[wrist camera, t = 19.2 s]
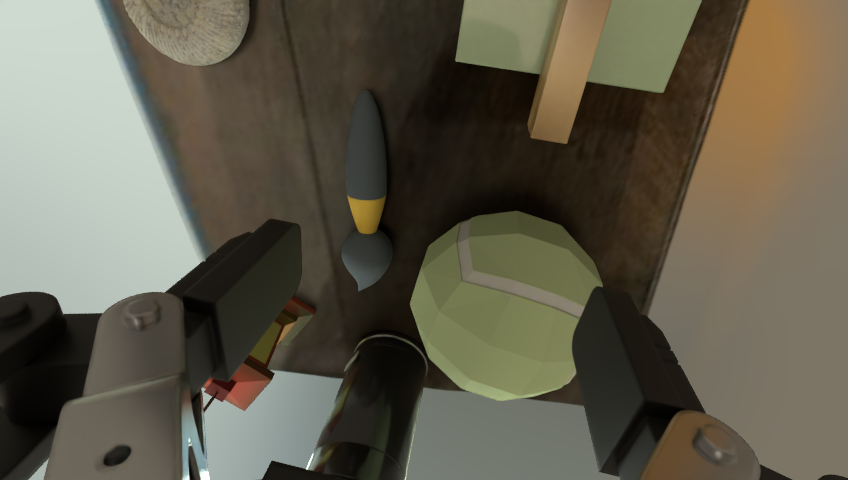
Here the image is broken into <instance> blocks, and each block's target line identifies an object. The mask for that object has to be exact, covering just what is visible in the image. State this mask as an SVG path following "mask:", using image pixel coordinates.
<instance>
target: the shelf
mask: <svg viewBox="0 0 848 480" xmlns="http://www.w3.org/2000/svg"><path fill="white" fill-rule="evenodd" d="M701 1H702V0H612V2H611V5H610V8H609V11H608V15H607V18H606V21H605V24H604V27H603V30H602V34H601V37H600V40H599V43H598V46H597V49H596V53H595V56H594V59H593V62H592V65H591V69H590V72H589V75H588V78H587V81H586V82H593V83H599V84H606V85H612V86H619V87H625V88H632V89H638V90H645V91H651V92H658V93H663V92H664V90H665V87H666V85H667V82H668V80H669V78H670V75H671V73H672V70H673V68H674V66H675V63H676V61H677V59H678V56H679V54H680V51H681V49H682V47H683V44H684V42H685V39H686V37H687V35H688V32H689V30H690V27H691V25H692V23H693V20H694V18H695V16H696V13H697V11H698V8H699V6H700V4H701ZM558 2H559V0H464V5H463V12H462V19H461V25H460V32H459V39H458V45H457V52H456V59H455V60H456V61H457V62H463V63H469V64H476V65H482V66H489V67H495V68H502V69H508V70H515V71H521V72H528V73H534V74H540V72H541V69H542V65H543V61H544V57H545V53H546V49H547V45H548V41H549V37H550V33H551V29H552V25H553V21H554V17H555V14H556V10H557V6H558Z"/></svg>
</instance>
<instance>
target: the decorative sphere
mask: <svg viewBox="0 0 848 480" xmlns="http://www.w3.org/2000/svg"><path fill="white" fill-rule="evenodd" d="M596 286H600V287H603V284H602V282H601V279H600V277H599V274H598V271H597V269H596V266H595V263H594V261H593V260H592V259H591V258H590V257H589V256H588V255H587V254H586V252H585V251H584V250H583V249H582V248H581V247H580V246H579V245H578V243H577V242H576V241H575V240H574V239H573V238H572V237H571V236H570V234H569V233H568V232H567V231H566V230H565V229H564V228H563V227H562V225H559V224H556V223H553V222H550V221H547V220H544V219H541V218H538V217H535V216H532V215H529V214H526V213H523V212H520V211H511V212H503V213H495V214H487V215H478V216H475V217H472V218H471V219H468V220H465V221H463V222H460V223H458V224H457V225H456V226H454V227H453V228H452V229H450V230H449V231H448V232H446V233H445V234H444V235H442V236H441V237H440V238H438V239H437V240H436V241H434V242H433V243H432V244H430V245H429V246H428V249H427V252H426V255H425V258H424V261H423V264H422V267H421V270H420V272H419V275H418V278H417V282H416V285H415V288H414V292H413V295H412V298H411V302H410V306H411V309H412V312H413V315H414V318H415V321H416V324H417V327H418V330H419V333H420V336H421V339H422V341H423V344H424V347H425V349H426V352H427V355H428V357H429V359H430V360H431V361H432V362H433V363H434V364H435V365H437V366H438V367H439V368H440V369H441V370H442V371H443V372H444V373H445V374H446V375H447V376H448V377H449V378H450V379H452V380H453V381H454V382H455V383H456V384H457V385H458V386H459V387H460V388H461V389H464V390H467V391H470V392H473V393H476V394H479V395H482V396H485V397H488V398H491V399H494V400H498V401H503V400H511V399H518V398H525V397H533V396H537V395H540V394H543V393H547V392H550V391H553V390H556V389H559V388H562V386H563V385H565V384H568V383H569V382H570V381H571V380H572V378H573V377H574V376H575V374H576V368H575V364H574V360H573V355H572V338H573V334H574V331H575V328H576V326H577V324H578V321H579V319H580V317H581V315H582V312H583V310H584V308H585V305H586V303H587V301H588V299H589V296H590V294H591V292H592V290H593V289H594V288H595V287H596Z"/></svg>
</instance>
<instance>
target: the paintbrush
mask: <svg viewBox="0 0 848 480" xmlns="http://www.w3.org/2000/svg"><path fill="white" fill-rule="evenodd" d="M346 189H347V197H348V200H349V204H350V208H351V211H352V214H353V218H354V220H355V223H356V226H357V229H356V230H355V231H353V232H352V233H351V234H350V235H349V236H348V237H347V238H346V240H345V242H344V244H343V247H342V259H343V262H344V264H345V266H346V268H347V269H348V271H349V272H350V273H351V275H352V276H353V277H354V278H355V280H356V281H357V283H358V291H360V290H362V289H364V288H367V287H369V286H371V285H372V284H374V283H375V282H377V281H378V280H379V279H380V278H381V277H382V276H383V275H384V273H385V272H386V271H387V269H388V267H389V266H390V263H391V261H392V257H393V248H392V244H391V241H390V239H389V238H388V237H387V235H386V234H385V233H384V232H382V231H381V230H379V229H377V228H378V225H379V222H380V218H381V215H382V211H383V207H384V203H385V199H386V193H387V165H386V152H385V143H384V136H383V129H382V124H381V119H380V115H379V111H378V108H377V105H376V102H375V100H374V98H373V96H372V94H371V93H370V92H369V91H368V90H363V91H362V92H361V93H360V94H359V96H358V97H357V100H356V102H355V105H354V108H353V112H352V116H351V121H350V127H349V135H348V144H347V156H346Z"/></svg>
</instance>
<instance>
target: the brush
mask: <svg viewBox="0 0 848 480" xmlns="http://www.w3.org/2000/svg"><path fill="white" fill-rule="evenodd" d="M611 2H612V0H559V2H558V6H557V10H556V14H555V17H554V21H553V25H552V29H551V33H550V37H549V41H548V45H547V49H546V53H545V57H544V61H543V65H542V69H541V72H540V76H539V80H538V84H537V88H536V92H535V96H534V100H533V104H532V108H531V112H530V116H529V120H528V124H527V125H528V129H529V132H530V136H531V138H533V139H539V140H545V141H551V142H558V143H564V144H567V142H568V139H569V135H570V132H571V129H572V126H573V123H574V119H575V116H576V113H577V110H578V107H579V104H580V100H581V97H582V94H583V91H584V88H585V84H586V81H587V78H588V75H589V72H590V69H591V65H592V62H593V59H594V56H595V53H596V49H597V46H598V43H599V40H600V37H601V34H602V30H603V27H604V24H605V21H606V18H607V15H608V11H609V8H610V5H611Z"/></svg>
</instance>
